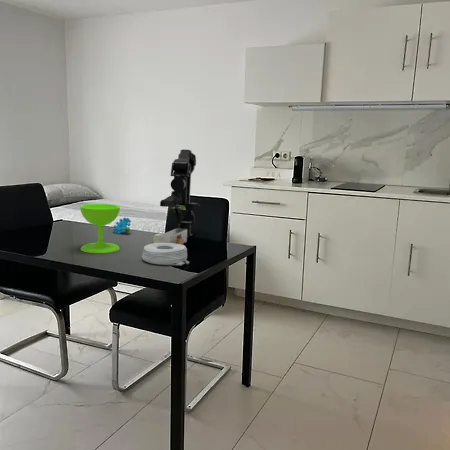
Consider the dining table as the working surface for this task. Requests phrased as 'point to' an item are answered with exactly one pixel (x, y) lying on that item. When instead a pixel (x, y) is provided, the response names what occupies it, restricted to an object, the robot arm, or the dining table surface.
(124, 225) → the blue lumpy cluster
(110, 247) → the wineglass
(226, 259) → the dining table surface
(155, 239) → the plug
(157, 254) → the cable
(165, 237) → the grey long block
